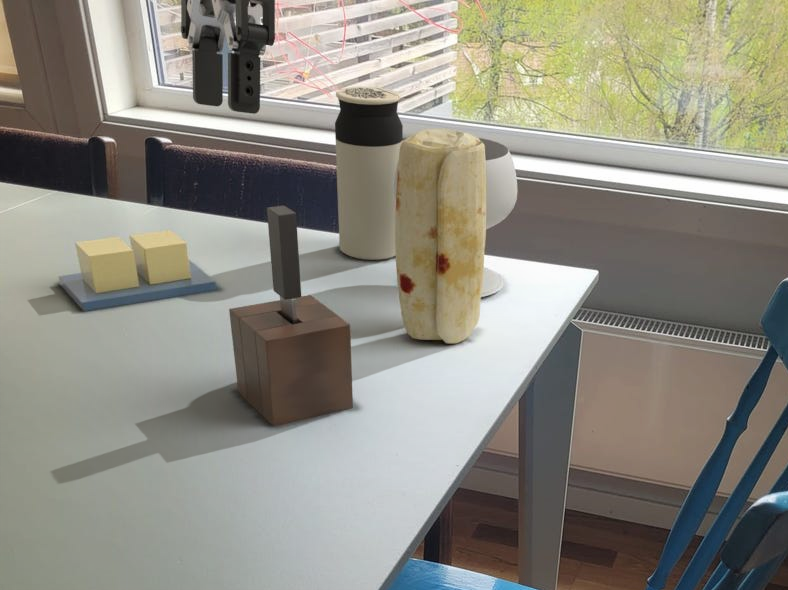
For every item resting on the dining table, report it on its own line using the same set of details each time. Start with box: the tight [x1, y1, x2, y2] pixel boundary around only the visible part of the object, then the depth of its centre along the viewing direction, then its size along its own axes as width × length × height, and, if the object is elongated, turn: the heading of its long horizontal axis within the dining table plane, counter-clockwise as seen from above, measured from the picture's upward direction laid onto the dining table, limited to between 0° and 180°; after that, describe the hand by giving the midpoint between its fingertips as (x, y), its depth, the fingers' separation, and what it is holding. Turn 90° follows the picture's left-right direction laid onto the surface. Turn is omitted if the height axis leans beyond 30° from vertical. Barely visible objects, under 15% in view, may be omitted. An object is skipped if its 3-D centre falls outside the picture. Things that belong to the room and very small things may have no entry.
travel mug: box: [334, 86, 404, 261], centre depth 121 cm, size 8×8×18 cm
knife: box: [266, 205, 302, 324], centre depth 88 cm, size 2×3×17 cm, turn 33°
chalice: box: [394, 137, 519, 298], centre depth 114 cm, size 14×14×15 cm
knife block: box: [228, 294, 354, 427], centre depth 90 cm, size 8×8×8 cm
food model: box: [395, 128, 487, 345], centre depth 100 cm, size 10×7×20 cm
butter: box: [58, 229, 217, 312], centre depth 112 cm, size 15×9×5 cm, turn 123°
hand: (225, 108), depth 77 cm, fingers open, 8 cm apart
